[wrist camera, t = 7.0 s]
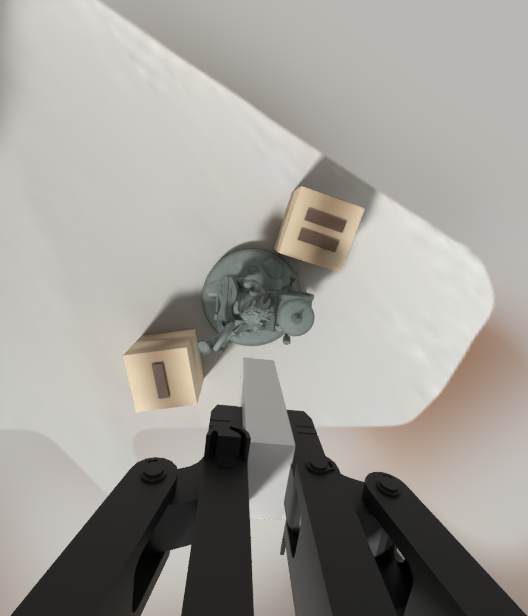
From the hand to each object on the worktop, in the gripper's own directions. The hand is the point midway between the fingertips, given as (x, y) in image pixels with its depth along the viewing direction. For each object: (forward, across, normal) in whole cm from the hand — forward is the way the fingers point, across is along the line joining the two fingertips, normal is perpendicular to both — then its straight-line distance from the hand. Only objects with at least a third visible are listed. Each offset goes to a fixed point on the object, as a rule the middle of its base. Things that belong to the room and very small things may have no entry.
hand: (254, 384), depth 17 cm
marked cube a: (+22, -7, -8) cm, 24 cm away
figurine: (+22, +1, 0) cm, 22 cm away
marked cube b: (+22, +6, +8) cm, 24 cm away
